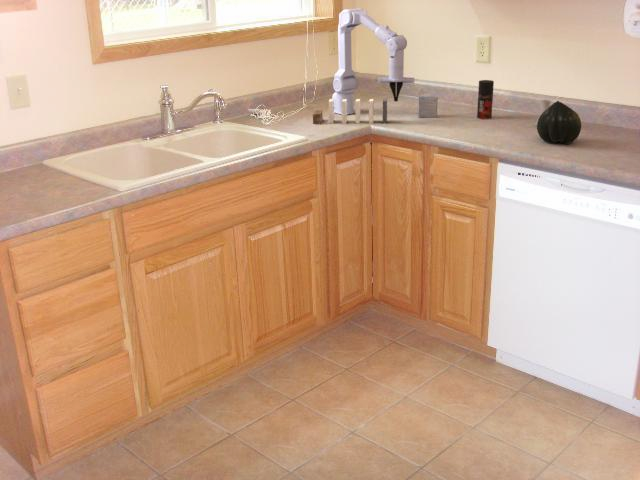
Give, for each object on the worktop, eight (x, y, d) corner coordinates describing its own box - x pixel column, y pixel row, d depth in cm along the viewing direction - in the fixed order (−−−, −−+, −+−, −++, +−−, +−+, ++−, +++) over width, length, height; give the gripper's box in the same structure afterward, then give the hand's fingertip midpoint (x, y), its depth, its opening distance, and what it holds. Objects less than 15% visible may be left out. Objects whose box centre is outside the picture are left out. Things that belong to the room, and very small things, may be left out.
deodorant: (475, 118, 307) (477, 82, 301) (478, 115, 312) (480, 79, 306) (490, 119, 304) (492, 82, 299) (492, 116, 310) (494, 80, 304)
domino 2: (342, 123, 305) (341, 101, 302) (343, 120, 310) (343, 99, 306) (346, 123, 305) (345, 101, 302) (347, 120, 309) (346, 99, 306)
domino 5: (382, 123, 303) (382, 101, 300) (383, 120, 308) (383, 98, 304) (386, 123, 303) (386, 101, 300) (387, 120, 307) (387, 98, 304)
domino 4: (368, 123, 304) (368, 101, 300) (369, 120, 308) (369, 99, 305) (372, 123, 304) (372, 101, 300) (373, 120, 308) (373, 98, 305)
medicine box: (436, 115, 315) (437, 94, 311) (437, 117, 310) (437, 96, 307) (417, 115, 315) (418, 95, 312) (418, 117, 311) (418, 97, 308)
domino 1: (328, 123, 306) (328, 101, 302) (330, 120, 310) (329, 99, 307) (332, 123, 306) (332, 101, 302) (334, 120, 310) (333, 99, 307)
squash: (572, 134, 255) (581, 97, 259) (529, 132, 263) (539, 95, 267) (578, 154, 267) (587, 118, 271) (537, 151, 275) (546, 115, 279)
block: (313, 123, 305) (312, 114, 304) (315, 119, 312) (315, 110, 311) (320, 123, 305) (320, 114, 303) (322, 119, 312) (322, 110, 311)
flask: (555, 124, 293) (557, 99, 290) (552, 128, 287) (554, 103, 284) (536, 123, 296) (538, 98, 293) (533, 127, 290) (535, 102, 286)
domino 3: (355, 123, 304) (355, 101, 301) (356, 120, 309) (356, 98, 306) (359, 123, 304) (359, 101, 301) (360, 120, 309) (360, 99, 305)
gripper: (377, 68, 294) (377, 102, 299) (414, 68, 292) (413, 102, 297) (378, 66, 300) (378, 99, 305) (414, 65, 298) (414, 99, 303)
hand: (396, 101), depth 301 cm, fingers closed
